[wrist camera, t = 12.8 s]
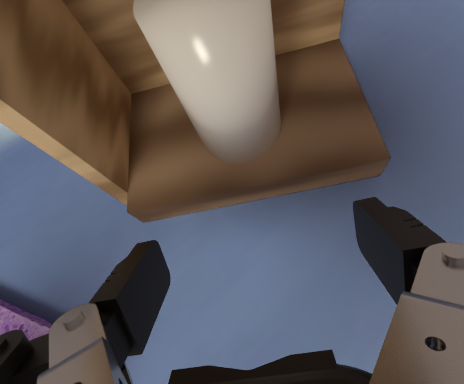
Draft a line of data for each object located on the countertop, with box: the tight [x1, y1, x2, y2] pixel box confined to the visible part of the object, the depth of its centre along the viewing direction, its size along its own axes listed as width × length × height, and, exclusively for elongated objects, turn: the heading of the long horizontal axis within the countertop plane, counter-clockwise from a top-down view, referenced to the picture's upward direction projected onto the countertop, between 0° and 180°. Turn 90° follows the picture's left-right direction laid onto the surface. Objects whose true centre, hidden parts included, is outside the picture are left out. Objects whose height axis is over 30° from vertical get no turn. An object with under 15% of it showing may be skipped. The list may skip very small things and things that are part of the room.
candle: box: [133, 0, 281, 163], centre depth 16 cm, size 6×6×10 cm
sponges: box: [0, 299, 53, 341], centre depth 19 cm, size 7×13×2 cm, turn 73°
